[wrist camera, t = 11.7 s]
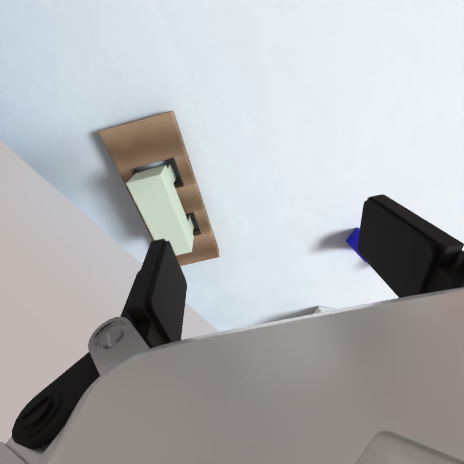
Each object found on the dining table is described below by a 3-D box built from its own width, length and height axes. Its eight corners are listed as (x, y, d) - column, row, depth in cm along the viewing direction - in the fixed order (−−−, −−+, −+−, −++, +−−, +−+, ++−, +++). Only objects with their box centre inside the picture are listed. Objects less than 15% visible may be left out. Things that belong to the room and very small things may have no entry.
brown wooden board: (105, 129, 29) (98, 131, 27) (173, 110, 28) (170, 111, 27) (169, 261, 40) (167, 268, 38) (218, 249, 40) (219, 256, 38)
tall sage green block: (142, 166, 32) (125, 183, 26) (170, 159, 31) (159, 174, 25) (171, 232, 37) (163, 258, 31) (195, 226, 37) (191, 251, 31)
